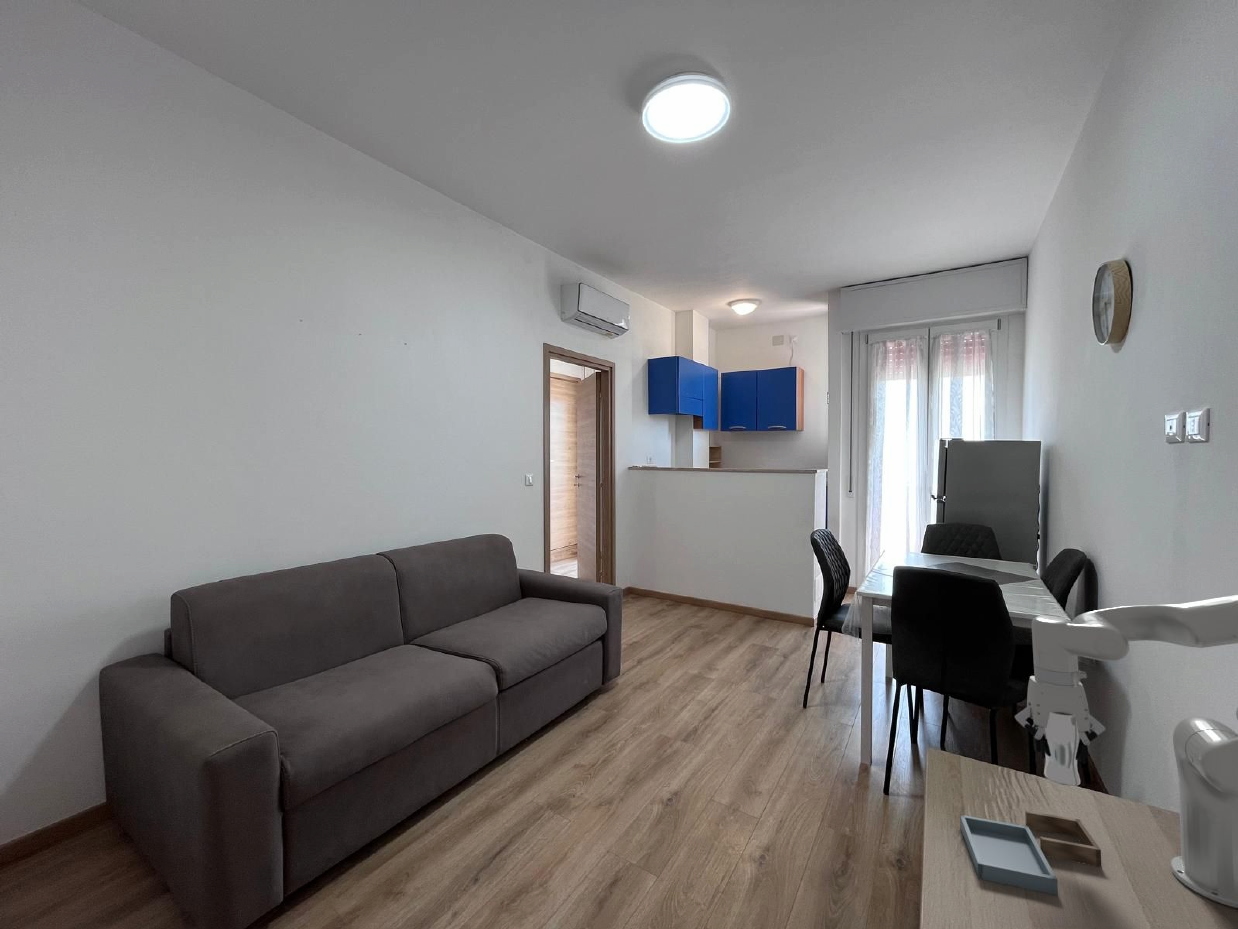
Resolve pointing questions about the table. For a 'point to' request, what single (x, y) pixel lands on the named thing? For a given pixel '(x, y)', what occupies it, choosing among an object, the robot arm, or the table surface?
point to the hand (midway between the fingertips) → (1060, 757)
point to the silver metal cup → (1062, 749)
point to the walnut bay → (1063, 849)
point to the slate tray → (1007, 854)
